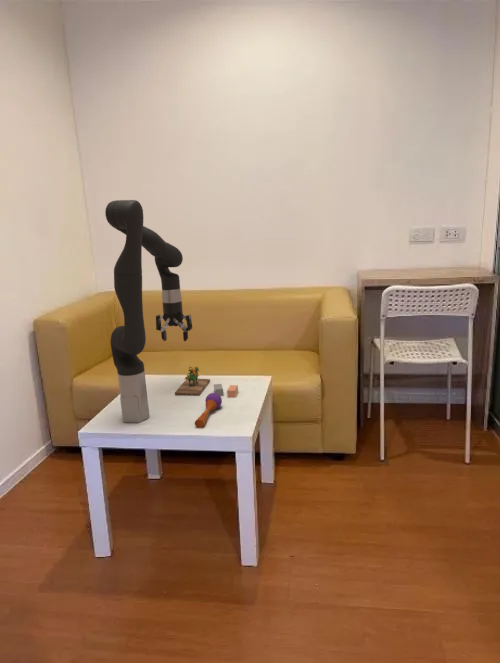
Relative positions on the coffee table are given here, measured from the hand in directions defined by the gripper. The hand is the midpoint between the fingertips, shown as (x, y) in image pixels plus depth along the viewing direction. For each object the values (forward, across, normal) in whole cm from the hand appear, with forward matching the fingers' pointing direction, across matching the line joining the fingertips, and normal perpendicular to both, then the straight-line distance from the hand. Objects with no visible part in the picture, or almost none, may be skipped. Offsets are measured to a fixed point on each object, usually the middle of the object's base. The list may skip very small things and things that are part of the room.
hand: (175, 340), depth 206 cm
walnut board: (+20, +6, +2) cm, 21 cm away
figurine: (+19, +5, +1) cm, 20 cm away
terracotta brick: (+21, +24, -4) cm, 32 cm away
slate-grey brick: (+21, +18, -4) cm, 27 cm away
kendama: (+21, +20, -25) cm, 38 cm away
